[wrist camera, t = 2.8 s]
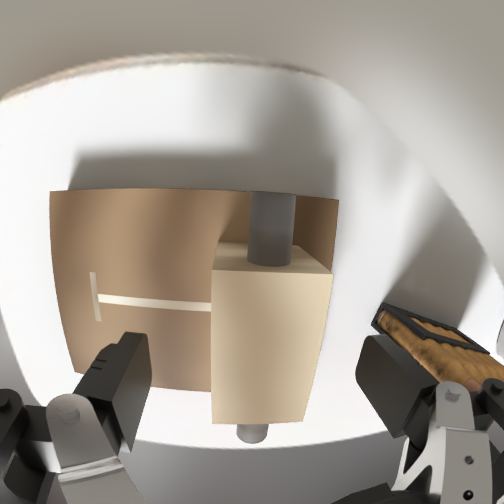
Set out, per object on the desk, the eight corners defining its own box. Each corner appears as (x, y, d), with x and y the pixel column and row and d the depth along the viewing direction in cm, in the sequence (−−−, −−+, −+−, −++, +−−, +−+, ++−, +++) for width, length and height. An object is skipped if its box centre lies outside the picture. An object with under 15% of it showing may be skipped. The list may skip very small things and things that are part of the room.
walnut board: (325, 198, 15) (339, 199, 13) (301, 373, 18) (308, 390, 16) (67, 190, 14) (49, 191, 12) (85, 357, 16) (74, 372, 14)
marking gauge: (302, 195, 13) (342, 199, 8) (278, 392, 16) (293, 450, 11) (220, 190, 13) (215, 188, 8) (215, 392, 15) (213, 453, 10)
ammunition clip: (457, 328, 19) (542, 393, 7) (447, 346, 19) (528, 415, 8) (381, 301, 17) (503, 403, 6) (369, 324, 18) (476, 438, 6)
